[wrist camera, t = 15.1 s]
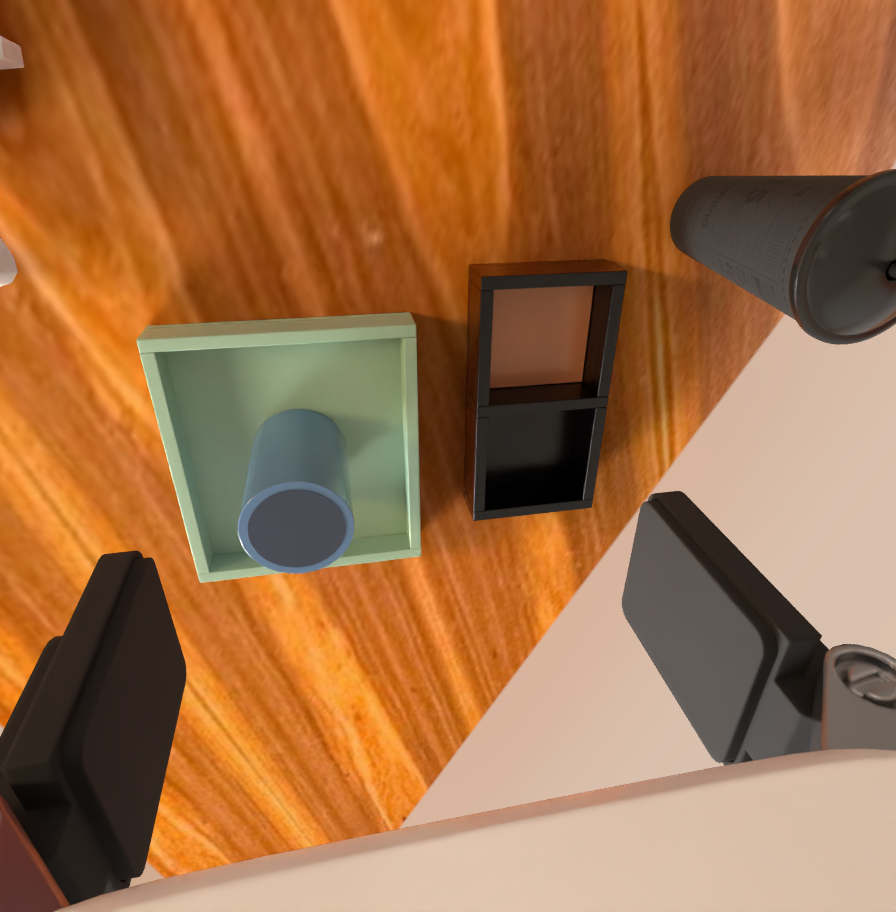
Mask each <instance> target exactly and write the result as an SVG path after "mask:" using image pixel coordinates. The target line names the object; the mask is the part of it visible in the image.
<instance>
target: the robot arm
mask: <svg viewBox="0 0 896 912" xmlns="http://www.w3.org/2000/svg"><path fill="white" fill-rule="evenodd" d="M622 608H623V612H624V615H625V617H626V619H627V621H628V622H629V624H630V626H631V627H632V629H633V631H634V632H635V634H636V635H637V637H638V639H639V640H640V642H641V643H642V645H643V647H644V648H645V650H646V651H647V653H648V655H649V656H650V658H651V660H652V661H653V663H654V665H655V666H656V668H657V669H658V671H659V673H660V674H661V676H662V678H663V679H664V681H665V682H666V684H667V686H668V687H669V689H670V691H671V692H672V694H673V695H674V697H675V699H676V700H677V702H678V704H679V705H680V707H681V708H682V710H683V712H684V713H685V715H686V717H687V718H688V720H689V721H690V723H691V725H692V726H693V728H694V729H695V731H696V733H697V734H698V736H699V738H700V739H701V741H702V742H703V744H704V746H705V747H706V749H707V751H708V752H709V754H710V755H711V757H712V758H713V759H714V760H715V761H716V762H719V763H720V762H722V763H723V764H724V766H720V767H715V768H709V769H704V770H699V771H693V772H688V773H683V774H678V775H673V776H667V777H662V778H657V779H651V780H647V781H641V782H636V783H631V784H626V785H620V786H615V787H610V788H605V789H600V790H594V791H589V792H584V793H579V794H573V795H568V796H563V797H558V798H553V799H548V800H543V801H538V802H533V803H528V804H523V805H518V806H513V807H507V808H503V809H498V810H492V811H487V812H482V813H477V814H472V815H468V816H462V817H457V818H452V819H447V820H442V821H437V822H432V823H427V824H422V825H416V826H412V827H407V828H402V829H397V830H392V831H387V832H382V833H377V834H372V835H367V836H362V837H357V838H352V839H347V840H343V841H338V842H333V843H328V844H323V845H318V846H313V847H308V848H303V849H298V850H293V851H288V852H283V853H279V854H274V855H269V856H264V857H259V858H255V859H250V860H246V861H241V862H236V863H232V864H227V865H223V866H218V867H214V868H209V869H205V870H200V871H196V872H191V873H187V874H182V875H178V876H173V877H168V878H164V879H160V880H155V881H152V882H148V883H144V884H140V885H137V886H133V887H129V886H130V881H131V878H135V877H140V876H141V875H142V873H143V871H144V868H145V864H146V860H147V856H148V851H149V846H150V842H151V837H152V833H153V828H154V824H155V819H156V815H157V810H158V806H159V801H160V796H161V792H162V787H163V783H164V778H165V774H166V769H167V765H168V760H169V755H170V751H171V746H172V742H173V737H174V733H175V728H176V724H177V719H178V714H179V710H180V705H181V701H182V696H183V692H184V687H185V682H186V664H185V660H184V656H183V653H182V650H181V647H180V643H179V640H178V637H177V634H176V630H175V627H174V624H173V620H172V617H171V614H170V611H169V607H168V604H167V601H166V598H165V594H164V591H163V588H162V584H161V581H160V578H159V575H158V571H157V568H156V565H155V562H154V560H153V559H152V558H150V557H149V558H143V556H142V554H141V553H140V552H139V551H129V552H120V553H111V554H104V555H102V556H101V557H100V559H99V560H98V562H97V565H96V567H95V569H94V571H93V573H92V575H91V577H90V579H89V582H88V584H87V586H86V588H85V590H84V592H83V594H82V596H81V598H80V601H79V603H78V605H77V607H76V609H75V611H74V613H73V615H72V618H71V620H70V622H69V624H68V626H67V628H66V630H65V632H64V635H63V636H57V637H54V638H53V639H51V640H50V641H49V642H48V643H47V645H46V646H45V648H44V650H43V652H42V654H41V656H40V658H39V660H38V662H37V664H36V666H35V668H34V670H33V672H32V674H31V676H30V678H29V680H28V682H27V684H26V686H25V688H24V690H23V692H22V694H21V696H20V698H19V700H18V702H17V704H16V706H15V708H14V710H13V712H12V714H11V716H10V718H9V720H8V722H7V724H6V726H5V728H4V730H3V732H2V734H1V736H0V912H896V659H895V658H893V657H891V656H890V655H888V654H885V653H883V652H881V651H878V650H876V649H873V648H870V647H865V646H861V645H855V644H842V645H839V646H835V647H832V648H831V649H830V650H829V649H828V648H827V647H826V646H825V645H824V644H823V643H822V642H821V641H820V639H821V637H822V635H821V634H820V633H819V632H818V631H817V630H816V629H815V628H814V627H813V626H812V625H811V624H810V623H809V622H808V621H807V620H806V619H805V618H804V617H803V616H802V615H801V614H800V613H799V612H798V611H797V610H796V608H795V607H793V606H792V604H791V603H790V602H789V601H788V600H787V599H786V598H785V597H784V596H783V595H782V594H781V593H780V592H779V591H778V590H777V589H776V588H775V587H774V586H773V585H772V584H771V583H770V582H769V581H768V580H767V579H766V577H764V575H763V574H762V573H760V571H759V570H758V569H757V568H756V567H755V566H754V565H753V564H752V563H751V562H750V561H749V560H748V559H747V558H746V557H745V556H744V555H743V554H742V553H741V552H740V551H739V550H738V548H737V547H736V546H735V545H734V544H733V543H732V542H731V541H730V540H729V539H728V538H727V537H726V536H725V535H724V534H723V533H722V532H721V531H720V530H719V529H718V528H717V527H716V526H715V525H714V524H713V523H712V522H711V521H710V520H709V519H708V518H707V516H705V514H704V513H703V512H702V511H701V510H700V509H699V508H698V507H697V506H696V505H695V504H694V503H693V502H692V501H691V500H690V499H689V498H688V497H687V496H686V495H685V494H684V493H683V492H681V491H673V492H664V493H655V494H652V495H651V496H650V497H649V499H648V501H647V502H644V503H643V504H642V505H641V508H640V513H639V518H638V523H637V529H636V533H635V538H634V543H633V548H632V553H631V558H630V563H629V568H628V573H627V578H626V583H625V588H624V592H623V597H622Z"/></svg>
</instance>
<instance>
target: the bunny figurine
mask: <svg viewBox="0 0 896 912" xmlns="http://www.w3.org/2000/svg"><path fill="white" fill-rule="evenodd" d="M23 67H24V62H23V57H22V52H21V47H20V46H19V45H17V44H15V43H13V42H11V41H9V40H8V39H6V38H4V37H2V36H0V70H3V69H13V68H23ZM17 272H18V271H17V267H16V264H15V260H14V257H13V256H12V254H11V253H10V251H9V250H8V248H7V247H6V245H5V244H4V242H3V241H2V239H1V238H0V286H3V285H6V284H9V283H12V281H13V280H14V278H15V276H16V274H17Z"/></svg>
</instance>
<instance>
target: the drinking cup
mask: <svg viewBox="0 0 896 912" xmlns="http://www.w3.org/2000/svg"><path fill="white" fill-rule="evenodd" d="M670 231H671V236H672V239H673V242H674V244H675V245H676V247H677V248H678V249H679V250H680V251H682V252H683V253H685V254H686V255H688V256H690V257H691V258H693V259H695V260H696V261H698V262H700V263H701V264H703V265H705V266H706V267H708V268H710V269H711V270H713V271H715V272H716V273H718V274H720V275H721V276H723V277H725V278H726V279H728V280H730V281H731V282H733V283H735V284H736V285H738V286H740V287H741V288H743V289H745V290H746V291H748V292H750V293H751V294H753V295H755V296H756V297H758V298H760V299H761V300H763V301H765V302H766V303H768V304H770V305H771V306H773V307H775V308H776V309H778V310H780V311H781V312H783V313H785V314H786V315H788V316H790V317H792V318H793V319H795V320H796V321H797V323H798V324H799V326H800V327H801V328H802V329H803V330H804V331H805V332H806V333H807V334H809V335H810V336H812V337H814V338H816V339H818V340H820V341H823V342H826V343H830V344H851V343H857V342H861V341H864V340H867V339H870V338H872V337H874V336H876V335H878V334H880V333H882V332H884V331H885V330H887V329H889V328H890V327H892V326H893V325H894V324H896V169H891V170H885V171H882V172H878V173H875V174H872V175H868V176H710V177H705V178H702V179H700V180H698V181H696V182H695V183H693V184H692V185H690V186H689V187H688V188H687V189H686V190H685V191H684V192H683V193H682V195H681V196H680V197H679V199H678V201H677V202H676V204H675V207H674V209H673V212H672V215H671V222H670Z"/></svg>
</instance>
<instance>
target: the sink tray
mask: <svg viewBox="0 0 896 912" xmlns="http://www.w3.org/2000/svg"><path fill="white" fill-rule="evenodd" d="M136 341H137V345H138V349H139V352H140V357H141V361H142V365H143V369H144V372H145V376H146V380H147V384H148V388H149V391H150V395H151V399H152V403H153V407H154V410H155V414H156V418H157V422H158V426H159V429H160V433H161V437H162V441H163V445H164V448H165V452H166V456H167V460H168V463H169V467H170V471H171V475H172V479H173V482H174V486H175V490H176V494H177V498H178V501H179V505H180V509H181V513H182V517H183V520H184V524H185V528H186V532H187V536H188V539H189V543H190V547H191V551H192V555H193V558H194V562H195V566H196V570H197V573H198V577H199V581H200V583H203V582H211V581H219V580H228V579H236V578H244V577H253V576H261V575H269V574H277V573H283V572H278V571H274V570H271V569H269V568H266V567H264V566H262V565H261V564H259V563H257V562H256V561H255V560H254V559H252V558H251V557H250V556H249V555H248V554H247V552H246V551H245V549H244V548H243V546H242V544H241V542H240V539H239V535H238V521H239V515H240V510H241V504H242V498H243V493H244V487H245V481H246V476H247V470H248V465H249V459H250V453H251V448H252V442H253V438H254V436H255V433H256V432H257V430H258V428H259V427H260V426H261V424H262V423H263V422H265V421H266V420H267V419H268V418H270V417H271V416H273V415H275V414H277V413H279V412H282V411H286V410H291V409H307V410H312V411H315V412H318V413H321V414H323V415H325V416H326V417H328V418H330V419H331V420H332V421H333V422H334V423H335V424H336V425H337V426H338V427H339V428H340V430H341V431H342V433H343V435H344V438H345V441H346V446H347V455H348V465H349V475H350V485H351V494H352V504H353V514H354V535H353V538H352V541H351V543H350V545H349V547H348V548H347V550H346V551H345V552H344V553H343V554H342V556H341V557H339V558H338V559H337V560H336V561H334V562H333V563H331V564H330V565H328V566H326V567H324V568H327V567H335V566H344V565H352V564H360V563H368V562H377V561H385V560H393V559H401V558H410V557H418V556H421V524H420V476H419V429H418V381H417V338H416V324H415V322H414V320H413V318H412V315H411V313H410V312H404V313H385V314H365V315H346V316H326V317H307V318H287V319H268V320H248V321H228V322H209V323H189V324H170V325H150V326H146V328H145V329H144V331H143V332H142V333H141V335H140V336H139V337H138V339H137V340H136Z"/></svg>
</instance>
